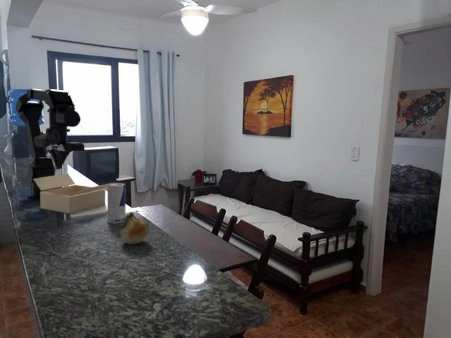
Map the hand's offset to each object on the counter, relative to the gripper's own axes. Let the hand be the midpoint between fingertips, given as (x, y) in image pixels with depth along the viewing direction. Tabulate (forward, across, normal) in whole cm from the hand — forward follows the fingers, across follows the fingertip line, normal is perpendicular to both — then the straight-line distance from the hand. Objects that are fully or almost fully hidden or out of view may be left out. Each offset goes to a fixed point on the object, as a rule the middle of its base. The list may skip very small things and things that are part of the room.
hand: (58, 169), depth 120 cm
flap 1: (+5, -2, 0) cm, 5 cm away
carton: (+13, +7, 0) cm, 15 cm away
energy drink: (+13, +31, -7) cm, 34 cm away
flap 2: (+5, +16, 0) cm, 17 cm away
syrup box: (+13, -30, +25) cm, 41 cm away
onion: (+13, +47, -20) cm, 53 cm away
